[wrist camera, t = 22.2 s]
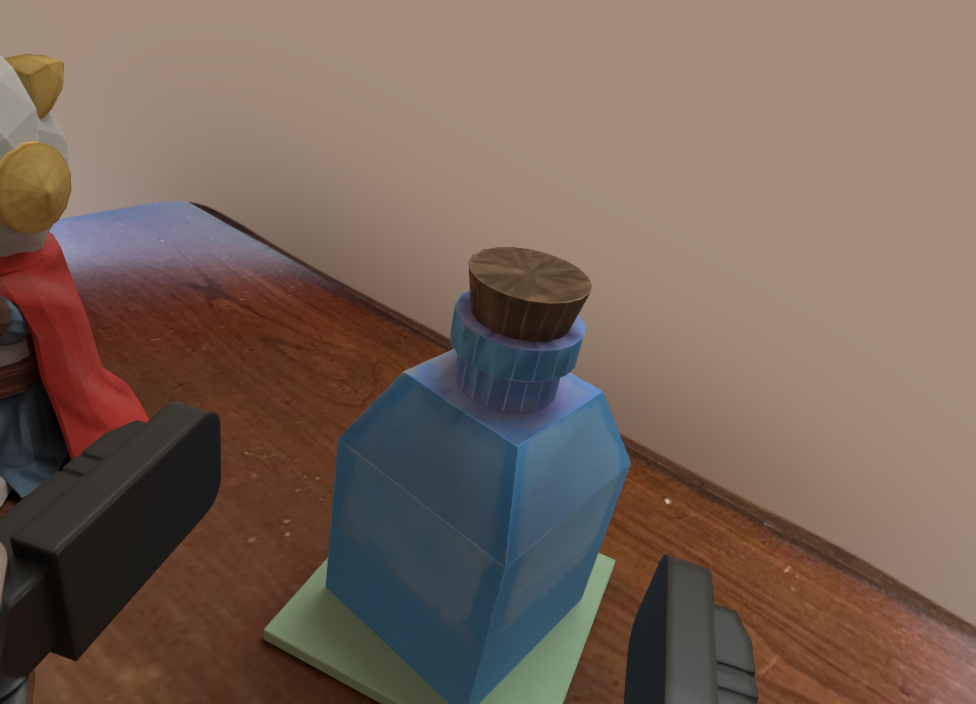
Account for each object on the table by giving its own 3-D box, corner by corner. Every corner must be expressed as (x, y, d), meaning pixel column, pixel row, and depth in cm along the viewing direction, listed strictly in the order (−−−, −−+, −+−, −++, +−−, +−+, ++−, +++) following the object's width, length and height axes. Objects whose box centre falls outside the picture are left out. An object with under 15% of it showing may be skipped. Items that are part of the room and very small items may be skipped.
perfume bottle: (464, 718, 20) (560, 367, 14) (325, 586, 23) (354, 250, 17) (581, 599, 24) (692, 294, 18) (451, 501, 27) (510, 211, 21)
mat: (612, 569, 27) (616, 560, 26) (531, 787, 19) (535, 777, 19) (405, 476, 29) (407, 467, 29) (262, 640, 22) (262, 629, 21)
